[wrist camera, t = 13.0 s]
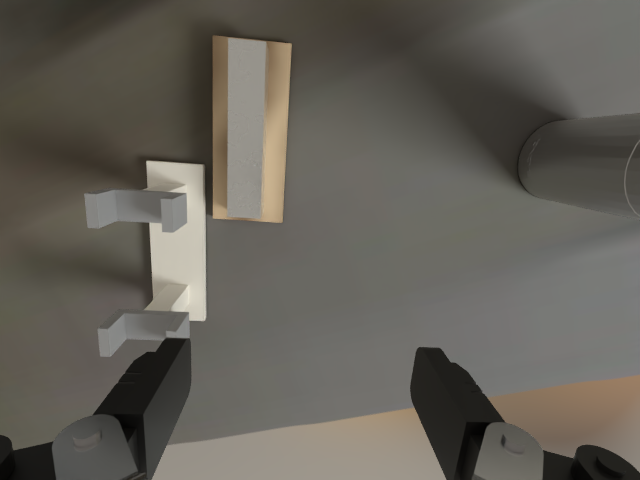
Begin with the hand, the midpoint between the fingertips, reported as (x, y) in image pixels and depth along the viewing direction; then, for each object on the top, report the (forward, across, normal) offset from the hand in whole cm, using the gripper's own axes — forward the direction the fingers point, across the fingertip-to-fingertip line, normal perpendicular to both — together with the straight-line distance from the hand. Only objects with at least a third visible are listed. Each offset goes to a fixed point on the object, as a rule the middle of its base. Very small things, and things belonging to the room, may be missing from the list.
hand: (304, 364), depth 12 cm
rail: (+30, +6, -8) cm, 31 cm away
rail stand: (+30, +14, +5) cm, 34 cm away
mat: (+30, +6, -8) cm, 32 cm away
